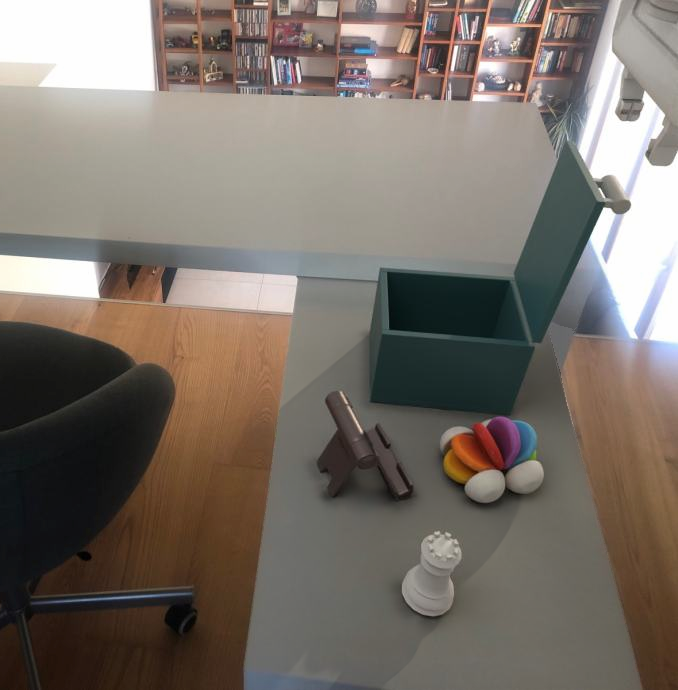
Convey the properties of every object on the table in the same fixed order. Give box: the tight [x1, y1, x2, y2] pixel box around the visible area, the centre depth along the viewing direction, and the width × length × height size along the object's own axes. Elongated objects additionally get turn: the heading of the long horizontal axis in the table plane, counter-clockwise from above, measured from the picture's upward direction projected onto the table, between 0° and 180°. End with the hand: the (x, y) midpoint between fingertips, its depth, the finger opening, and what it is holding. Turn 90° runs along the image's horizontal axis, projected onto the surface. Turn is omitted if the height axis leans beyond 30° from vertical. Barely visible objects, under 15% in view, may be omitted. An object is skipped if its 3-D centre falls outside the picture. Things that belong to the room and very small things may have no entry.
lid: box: [513, 139, 632, 344], centre depth 70 cm, size 16×13×5 cm
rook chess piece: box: [401, 530, 463, 617], centre depth 59 cm, size 4×4×8 cm
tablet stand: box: [316, 390, 414, 501], centre depth 70 cm, size 9×8×8 cm
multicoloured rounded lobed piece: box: [439, 416, 545, 504], centre depth 70 cm, size 8×10×7 cm
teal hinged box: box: [369, 267, 536, 416], centre depth 80 cm, size 16×13×10 cm
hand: (640, 139), depth 62 cm, fingers open, 8 cm apart
